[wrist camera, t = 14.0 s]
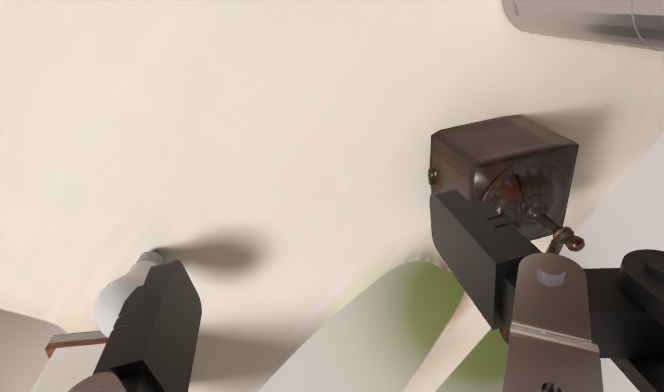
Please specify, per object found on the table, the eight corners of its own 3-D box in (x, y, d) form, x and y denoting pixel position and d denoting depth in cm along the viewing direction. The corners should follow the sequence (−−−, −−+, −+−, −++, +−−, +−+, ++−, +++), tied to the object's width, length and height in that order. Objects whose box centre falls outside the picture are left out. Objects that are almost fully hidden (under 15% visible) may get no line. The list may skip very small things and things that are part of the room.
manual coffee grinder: (424, 132, 40) (527, 219, 25) (519, 112, 41) (677, 183, 25) (428, 244, 48) (508, 364, 32) (508, 225, 49) (624, 334, 33)
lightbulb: (168, 283, 44) (142, 363, 34) (115, 265, 42) (71, 345, 32) (191, 246, 42) (169, 320, 33) (136, 225, 40) (96, 297, 30)
